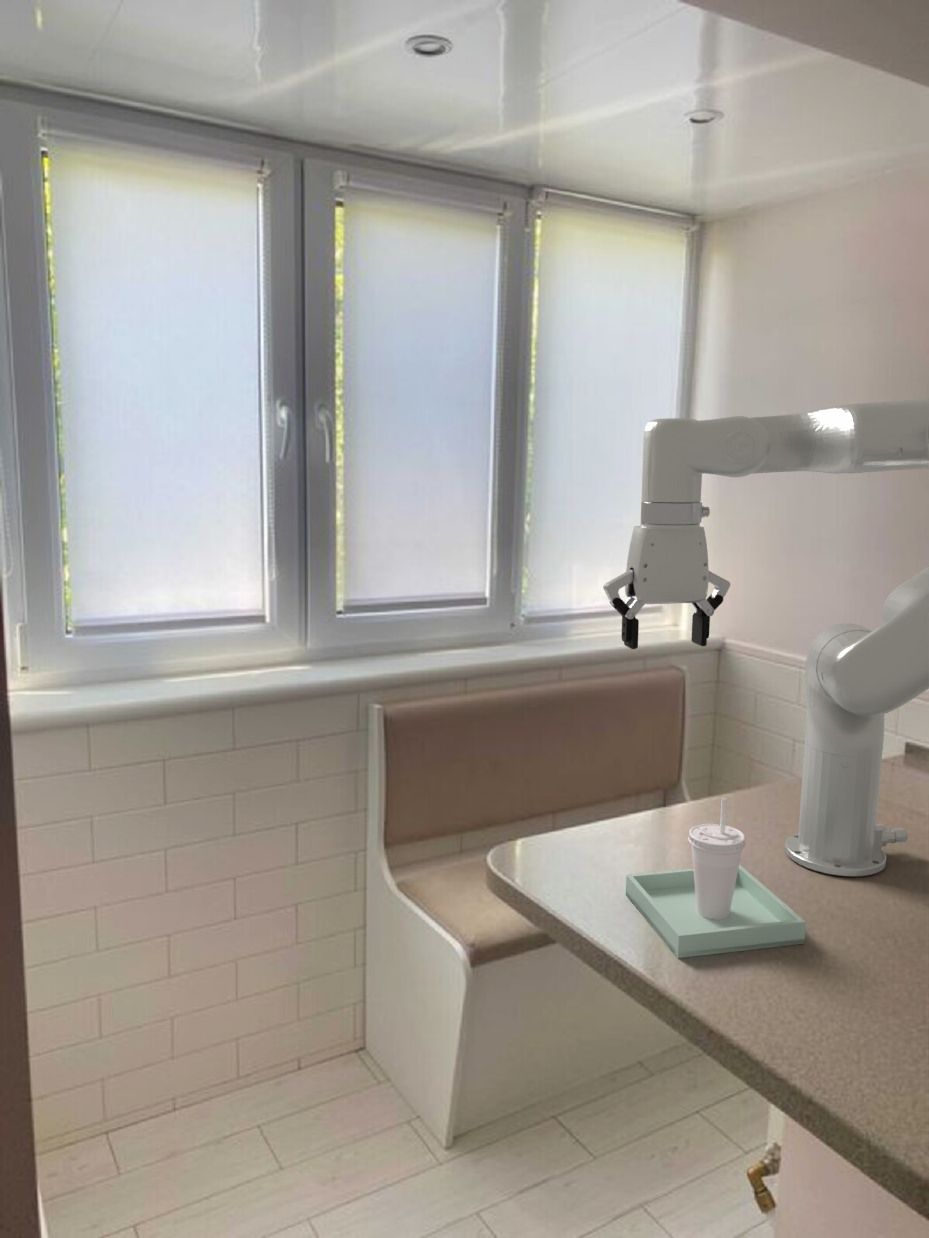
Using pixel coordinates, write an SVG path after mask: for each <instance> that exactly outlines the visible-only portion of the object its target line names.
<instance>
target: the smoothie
mask: <svg viewBox="0 0 929 1238" xmlns="http://www.w3.org/2000/svg"><path fill="white" fill-rule="evenodd" d="M727 800H728V799H727V797H721V800H720V801H721V803H720V804H721V806H720V821H719V824H717V823H702V824H698V825H695V826H693V827H691V828H690V829H689V831H688V838H687V840H688V842H689V843H690V844H691V855H692V867H693V868H692V869H693V870H694V882H695V894H696V907H697V912H698V914H699V915H701V916H702V917H705V918H707V919H712V920H722V919H726V918H727V917H729V914H730V909H731V904H732V899H733V893H734V888H735V883H736V878H737V873H738V868H739V864H740V863H741V856H742V852H743V850H744V849H745V848H746V844H747V843H746V835H745V834H744V832H743V831H741V830H740V829H737V828H735V827H733V826H730V825H729V826H728V825H726V817H727V816H726V814H727Z"/></svg>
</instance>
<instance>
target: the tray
mask: <svg viewBox="0 0 929 1238" xmlns="http://www.w3.org/2000/svg"><path fill="white" fill-rule="evenodd" d="M625 879H626V880H625V896H626V897H627V898H628V899H629V900H630V902H631V903H632V904H633V905H634V907H635V908H636V909H637V910H638V912H639V913H640V914H641V915H642V917H643V918H644V917H645V918H644V919H645V921H646V922H647V923H648V924H649V925H650V926H651V927H652V929H653V930H654V931H655V933H657V935H658V936H659V937H660V939H661V940H662V941H663V942H664V943H665V945H666V944H667V945H666V946H667V947H668V948H669V950H670V951H671V952H672V951H673V952H672V953H673V954H674V956H675V955H676V956H675V957H676V958H677V959H683V958H692V957H701V956H710V955H718V954H727V953H734V952H743V951H754V950H761V949H762V950H763V949H769V948H779V947H788V946H795V945H796V946H797V945H804V944H805V938H806V936H805V935H806V924H807V923H806V921H805V920H804V918H802V917H801V916H800V915H798V914H797V913H796V912H795V911H794V910H793V909H792V908H790V907H789V906H788V905H787V904H786V903H785V902H784V901H782V900H781V899H780V898H779V897H778V896H777V895H775V894H774V893H773V892H772V891H771V890H770V889H768V888H767V887H766V885H764V884H763V883H762V882H760V881H759V880H758V879H757V878H756V877H754V876H753V875H752V874H751V873H750V872H749V871H748V870H746V869H745V867H743V866H742V865H741V864H740V863H739V868H738V873H737V878H736V883H735V888H734V893H733V899H732V904H731V909H730V914H729V917H727V918H726V919H722V920H712V919H707V918H705V917H702V916H701V915H699V914H698V912H697V907H696V894H695V882H694V870H693V868H683V869H674V870H664V871H653V872H652V871H651V872H641V873H632V874H626V877H625Z"/></svg>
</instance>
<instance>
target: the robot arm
mask: <svg viewBox="0 0 929 1238" xmlns="http://www.w3.org/2000/svg"><path fill="white" fill-rule="evenodd" d="M642 445H643V446H642V448H643V449H642V470H641V471H642V472H641V473H642V474H641V475H642V477H641V498H640V499H641V501H640V504H641V505H640V510H641V511H640V525H635V526H634V527H633V529H632V534H631V538H630V542H629V546H628V547H629V548H628V555H627V560H626V561H627V562H626V568H625V569H626V570H625V572H624V573H622V574H619V575H618V576H617V577H615V578H612V579H611V580H609V581H608V582H606V583H604V585H603V587H602V588H603V590H604V592H605V594H606V597H607V599H608V600H609V604H610V605H611V606H612V607H613V608H614V609H615V610H616V612H617V613H618V614H619V615H620V616H621V640H622V642H623V644H624V646H625V647H627V648H629V649H631V650H637V649H638V647H639V628H640V622H639V619H638V618H636V616H637V614H638V613H640V611H641V609H642V608H643V607H644V606H645V604H646V605H668V604H670V605H671V604H691V605H692V606H693V608H694V609H695V611H696V612H693V614H692V620H691V621H692V623H691V642H692V643H694V644H695V645H699V646H701V647H706V646H707V644H708V643H707V642H708V639H709V637H710V627H711V625H710V624H711V617H712V616H714V614H715V612H716V610H717V609H718V608H719V607H720V606H721V605H722V603H723V602H724V597H726V595H727V593H728V591H729V589H730V587H731V582H730V581H729V580H728V579H725V578H723V577H721V576H720V575H718V574H716V573H714V572H712V571H710V570H709V553H708V544H707V543H708V542H707V537H706V531H705V528H704V527H705V526H701V525H700V524H701V523H702V519H703V518H707V517H709V516H710V513H711V512H710V511H711V510H710V508H709V507H708V506H704V505H703V502H702V485H703V484H702V483H703V474H709V475H717V476H722V477H729V478H742V477H743V478H744V477H746V476H750V475H754V474H755V475H756V474H769V473H784V472H785V473H790V472H791V473H792V472H793V473H794V472H812V473H815V472H816V473H824V474H864V473H875V472H876V473H877V472H878V473H879V472H894V471H908V470H909V471H910V470H911V471H912V470H925V469H926V470H927V469H928V470H929V398H922V399H921V398H920V399H907V400H893V401H877V402H865V403H863V402H861V403H850V404H849V403H848V404H844V405H843V404H842V405H835V406H831V407H827V408H823V409H818V410H814V411H807V412H801V413H792V414H783V415H770V416H756V417H755V416H754V417H748V416H744V415H743V416H742V415H739V416H738V415H734V416H728V417H722V418H713V419H702V420H698V419H695V418H694V419H693V418H686V417H685V418H678V417H674V418H672V417H671V418H669V417H668V418H655V419H652V420H650V421H648V422H647V423H646V425H645V427H644V430H643V442H642ZM709 583H710V584H712V585H713V586H714V589H713V592H712V593H711V594H710V595H709V596H708V593H709ZM622 588H624V594H625V596H626V598H627V599H626V600H623V599H622V598H621V596H620V593H619V591H620V590H621V589H622ZM707 596H708V597H707ZM882 620H883V623H881V624H880V625H878V626H877V627H876V628H874V629H873V630H871V629H869V628H867V627H865V626H863V625H860V624H856V623H846V622H845V623H837V624H833V625H831V626H828V627H826V628H825V629H823V630H822V631H820V633H819V634H816V637H814V639H813V640H812V642H811V644H810V646H809V648H808V651H807V655H806V661H805V692H806V693H805V695H806V714H805V716H806V717H805V733H804V734H805V735H804V746H803V749H804V750H803V760H802V761H803V762H802V776H801V791H800V802H799V803H800V805H799V806H800V807H799V819H798V822H799V823H798V832H797V833H793V834H791V835H790V836H789V837H788V838H787V839H786V841H785V844H784V845H785V847H784V850H785V853H786V855H787V856H788V857H789V858H790V859H792V861H794V862H795V863H797V864H799V865H800V866H802V867H805V868H807V869H809V870H812V871H815V872H818V873H823V874H826V875H832V876H833V875H834V876H841V877H867V876H871V875H875V874H877V873H880V872H881V871H883V870H884V869H885V868H886V865H887V855H886V853H885V851H884V850H883V849H882V847H886V846H887V845H888V844H899V843H906V842H907V841H908V837H909V836H908V832H907V830H906V829H905V828H904V827H894V828H889V829H887V826H886V824H884V823H877V819H878V808H879V796H880V795H879V794H880V784H881V783H880V782H881V774H882V773H881V770H882V760H883V759H882V758H883V751H884V740H885V739H884V738H885V737H884V736H885V714H888V713H891V712H893V711H895V710H897V709H899V708H900V707H902V706H904V705H905V704H907V703H909V702H910V701H912V700H914V699H915V698H917V697H918V696H920V695H922V694H923V693H924V692H926V691H928V690H929V566H927V567H926V568H924V569H923V570H920V572H918V573H916V574H915V575H914V576H912V577H910V578H908V579H907V580H905V582H903V583H901V584H899V585H898V586H897V587H895V588H894V589H893V590H892V591H891V592H890V593H889V595H888V596H887V597H886V599H885V601H884V604H883V607H882Z"/></svg>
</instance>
